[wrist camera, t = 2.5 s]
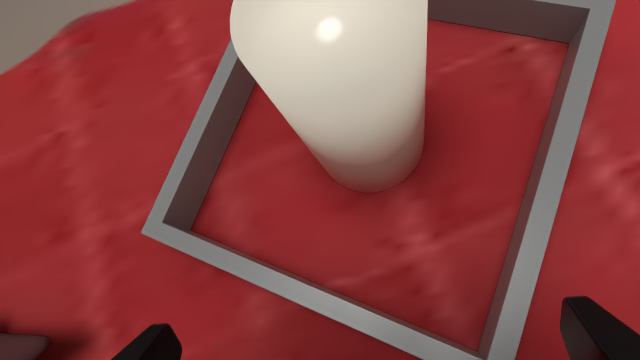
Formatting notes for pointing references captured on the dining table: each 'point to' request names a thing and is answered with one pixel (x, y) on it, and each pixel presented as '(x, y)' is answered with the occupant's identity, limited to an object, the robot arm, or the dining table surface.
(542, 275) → the dining table surface
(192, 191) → the frame
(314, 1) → the white pillar candle
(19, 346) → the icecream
